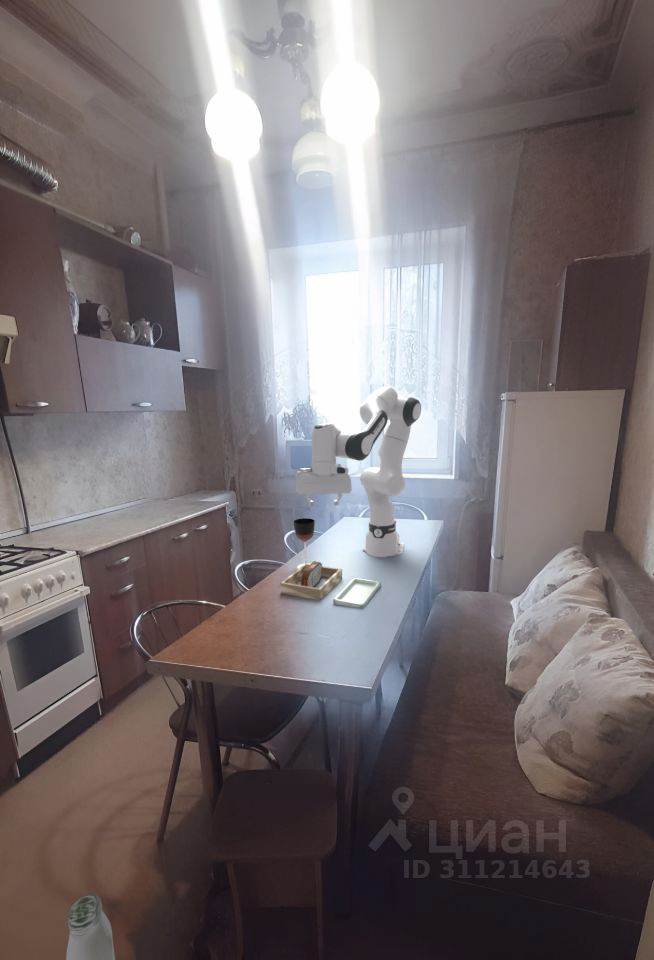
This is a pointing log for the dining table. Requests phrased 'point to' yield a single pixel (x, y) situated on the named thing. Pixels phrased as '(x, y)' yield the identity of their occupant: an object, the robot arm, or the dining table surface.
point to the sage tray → (357, 593)
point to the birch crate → (310, 592)
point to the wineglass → (304, 532)
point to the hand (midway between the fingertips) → (323, 505)
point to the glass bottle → (89, 931)
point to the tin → (312, 574)
